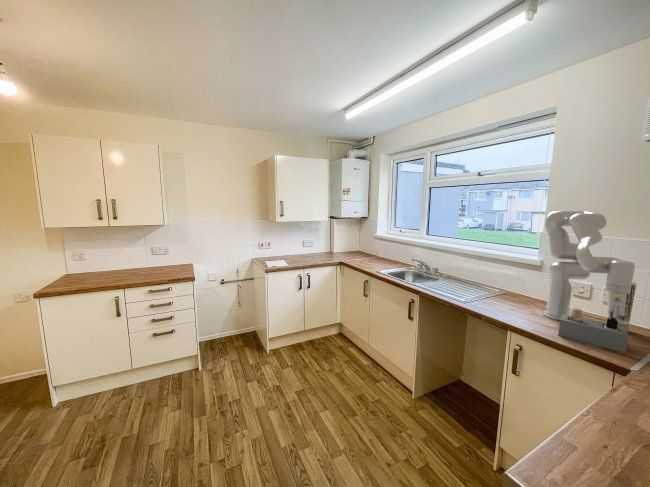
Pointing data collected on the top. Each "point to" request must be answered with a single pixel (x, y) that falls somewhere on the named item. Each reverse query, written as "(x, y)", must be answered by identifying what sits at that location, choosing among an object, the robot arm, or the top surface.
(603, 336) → the block
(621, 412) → the top surface
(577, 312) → the peg inner
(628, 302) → the bark textured peg
